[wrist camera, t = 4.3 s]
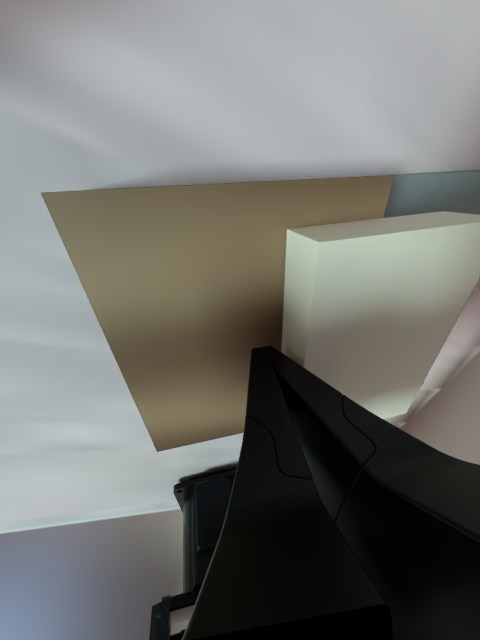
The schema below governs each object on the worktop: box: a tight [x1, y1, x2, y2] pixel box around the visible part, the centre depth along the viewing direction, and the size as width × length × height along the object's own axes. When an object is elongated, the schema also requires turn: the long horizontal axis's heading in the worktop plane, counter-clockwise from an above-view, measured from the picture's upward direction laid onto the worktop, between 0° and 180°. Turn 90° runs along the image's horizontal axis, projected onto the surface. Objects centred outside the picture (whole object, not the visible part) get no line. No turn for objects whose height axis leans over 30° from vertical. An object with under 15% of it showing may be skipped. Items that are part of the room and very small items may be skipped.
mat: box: [348, 171, 480, 218], centre depth 13 cm, size 12×9×1 cm
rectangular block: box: [281, 211, 480, 419], centre depth 9 cm, size 9×6×2 cm, turn 4°
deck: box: [41, 175, 395, 452], centre depth 11 cm, size 12×10×3 cm
